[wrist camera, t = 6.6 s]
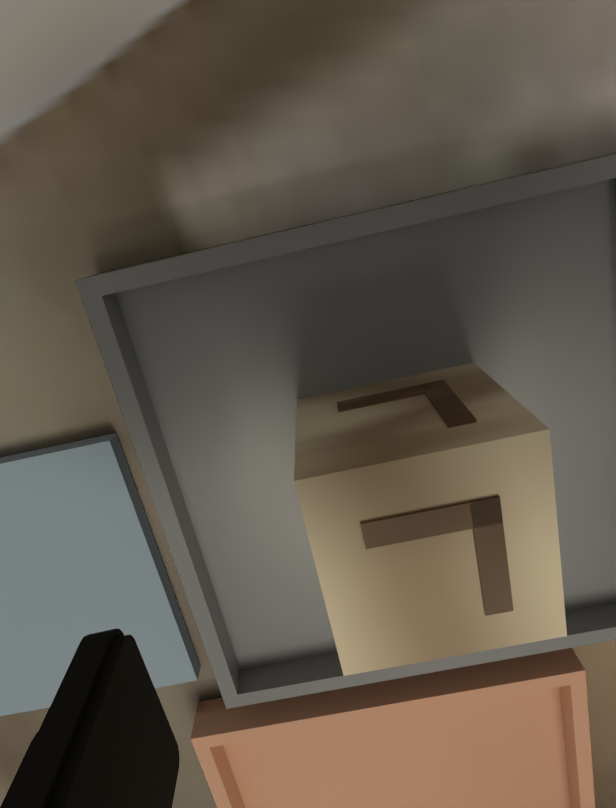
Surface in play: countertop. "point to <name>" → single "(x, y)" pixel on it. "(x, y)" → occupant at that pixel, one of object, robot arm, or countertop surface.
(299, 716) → the terracotta tray
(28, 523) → the mat
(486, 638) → the letter cube
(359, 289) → the charcoal tray
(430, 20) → the countertop surface
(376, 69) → the countertop surface
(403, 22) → the countertop surface
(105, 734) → the robot arm
